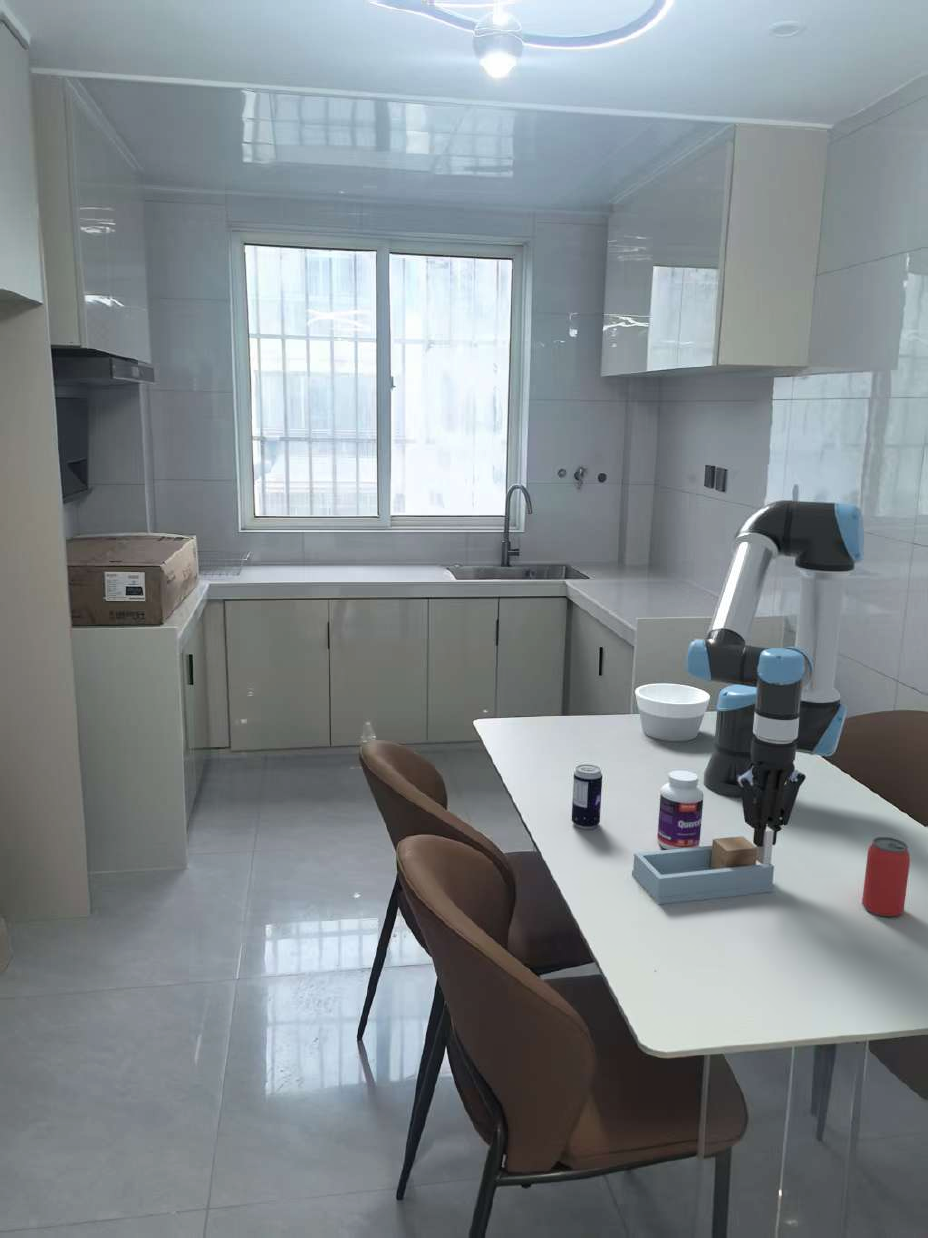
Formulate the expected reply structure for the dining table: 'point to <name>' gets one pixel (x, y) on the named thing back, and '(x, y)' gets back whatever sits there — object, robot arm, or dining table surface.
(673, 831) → the pill bottle
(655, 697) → the bowl
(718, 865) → the walnut block
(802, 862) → the dining table surface
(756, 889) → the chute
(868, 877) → the beer can
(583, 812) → the beverage can
